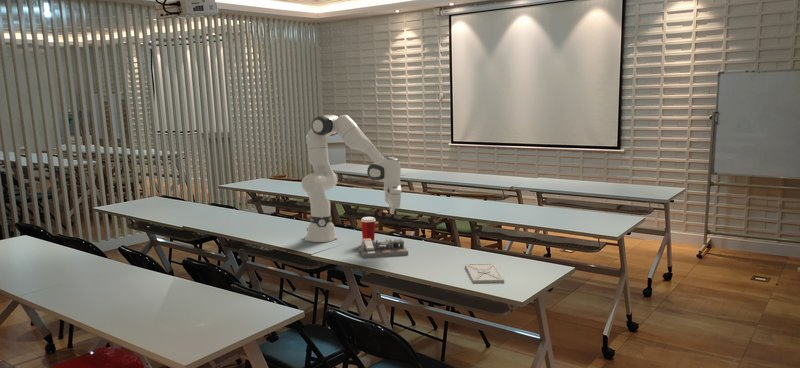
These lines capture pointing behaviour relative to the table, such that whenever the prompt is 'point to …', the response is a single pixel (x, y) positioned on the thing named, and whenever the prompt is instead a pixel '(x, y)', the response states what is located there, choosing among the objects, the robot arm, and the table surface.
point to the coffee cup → (368, 227)
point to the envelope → (484, 273)
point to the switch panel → (384, 250)
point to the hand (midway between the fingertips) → (392, 213)
